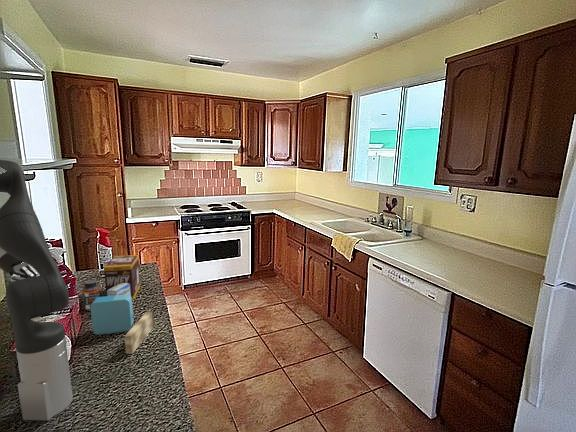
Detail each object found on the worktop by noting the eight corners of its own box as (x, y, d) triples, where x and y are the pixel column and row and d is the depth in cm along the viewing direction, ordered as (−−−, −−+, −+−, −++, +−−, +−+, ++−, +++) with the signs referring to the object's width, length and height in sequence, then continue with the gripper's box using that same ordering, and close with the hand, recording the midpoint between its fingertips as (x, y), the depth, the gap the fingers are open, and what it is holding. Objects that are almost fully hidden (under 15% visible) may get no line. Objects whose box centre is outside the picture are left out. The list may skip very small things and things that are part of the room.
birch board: (132, 353, 99) (131, 335, 97) (125, 353, 99) (124, 335, 97) (154, 326, 114) (153, 310, 113) (148, 326, 114) (147, 310, 113)
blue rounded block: (133, 324, 116) (131, 293, 113) (131, 330, 111) (129, 299, 109) (96, 328, 112) (93, 297, 110) (93, 335, 108) (89, 303, 106)
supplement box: (106, 302, 132) (103, 267, 129) (116, 287, 146) (113, 255, 144) (133, 300, 134) (130, 265, 131) (140, 286, 149) (138, 254, 146)
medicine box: (118, 311, 125) (116, 291, 123) (108, 310, 125) (106, 290, 124) (131, 302, 132) (130, 283, 130) (122, 301, 133) (120, 282, 131)
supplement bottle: (89, 313, 123) (86, 285, 121) (80, 309, 126) (77, 282, 124) (104, 306, 128) (102, 280, 126) (95, 303, 131) (92, 277, 129)
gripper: (-5, 254, 100) (39, 291, 102) (29, 243, 113) (67, 276, 115) (-19, 270, 101) (24, 306, 103) (16, 256, 114) (54, 289, 116)
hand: (47, 290), depth 109 cm, fingers closed
